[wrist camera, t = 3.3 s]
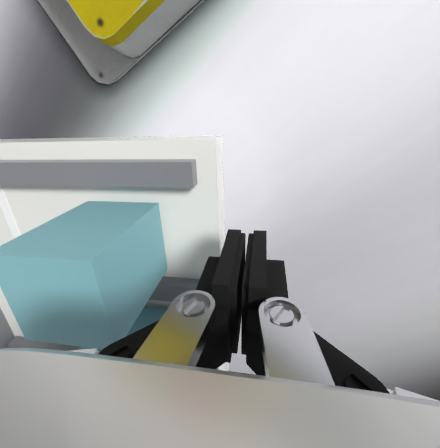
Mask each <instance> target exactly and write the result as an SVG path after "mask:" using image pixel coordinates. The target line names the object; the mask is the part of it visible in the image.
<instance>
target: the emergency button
mask: <svg viewBox="0 0 440 448" xmlns="http://www.w3.org/2000/svg"><path fill="white" fill-rule="evenodd" d="M38 1H39V3H40V4H41V6H42V7H43V9H44V10H45V11H46V13H47V14H48V16H49V17H50V19H51V20H52V21H53V23H54V24H55V26H56V27H57V29H58V30H59V32H60V33H61V34H62V36H63V37H64V39H65V40H66V42H67V43H68V44H69V46H70V47H71V49H72V50H73V52H74V53H75V54H76V56H77V57H78V59H79V60H80V62H81V63H82V64H83V66H84V67H85V69H86V70H87V72H88V73H89V74H90V76H91V77H92V78H94V79H95V80H96V81H97V82H98V83H103V84H112V83H114V82H116V81H118V80H119V79H120V78H121V77H122V76H124V75H125V74H126V73H127V72H128V71H129V70H130V69H131V68H132V67H133V66H134V65H135V64H137V63H138V62H139V61H140V60H141V59H142V58H143V57H144V56H145V55H146V54H147V53H148V52H150V51H151V50H152V49H153V48H154V47H155V46H156V45H157V44H158V43H159V42H160V41H161V40H163V39H164V38H165V37H166V36H167V35H168V34H169V33H170V32H171V31H172V30H173V29H174V28H176V27H177V26H178V25H179V24H180V23H181V22H182V21H183V20H184V19H185V18H186V17H187V16H189V15H190V14H191V13H192V12H193V11H194V10H195V9H196V8H197V7H198V6H199V5H200V4H202V3H203V2H204V1H205V0H38Z"/></svg>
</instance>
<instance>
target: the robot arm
mask: <svg viewBox="0 0 440 448" xmlns="http://www.w3.org/2000/svg"><path fill="white" fill-rule="evenodd" d="M241 316H242V354H245V355H246V363H247V365H248V366H249V367H250V368H251V369H252V370H253V371H254V372H255V373H256V375H253V374H246V373H238V372H231V371H223V370H219V368H218V367H220V366H221V365H222V364H224V363H225V362H229V363H230V362H231V354H232V353H237V350H238V341H239V333H240V324H241ZM0 448H440V401H439V400H435V399H432V398H429V397H426V396H423V395H420V394H417V393H413V392H410V391H407V390H404V389H401V388H398V387H395V388H394V391H393V390H390V389H387V388H386V387H385V386H384V385H383V384H382V383H381V382H380V381H379V380H378V379H377V378H376V377H375V376H373V375H372V374H370V373H369V372H368V371H366V370H365V369H364V368H362V367H361V366H360V365H358V364H357V363H356V362H354V361H353V360H352V359H350V358H349V357H347V356H346V355H345V354H343V353H342V352H341V351H339V350H338V349H337V348H335V347H334V346H333V345H331V344H330V343H329V342H327V341H326V340H324V339H323V338H322V337H320V336H319V335H318V334H316V333H315V332H314V331H313V329H312V327H311V325H310V322H309V320H308V317H307V315H306V312H305V311H304V309H303V307H302V306H301V305H299V304H298V303H297V302H295V301H293V300H291V299H288V291H287V283H286V274H285V266H284V261H279V260H266V231H254V234H249V237H248V245H247V252H246V260H245V233H241V230H230V229H228V232H227V236H226V239H225V242H224V245H223V249H222V252H221V255H220V257H213V256H209V257H208V259H207V262H206V264H205V267H204V269H203V272H202V275H201V277H200V280H199V282H198V285H197V288H196V290H192V291H187V292H184V293H182V294H180V295H179V296H177V297H176V298H175V299H174V300H173V302H172V303H171V305H170V306H169V307H168V309H167V310H166V312H165V313H164V315H163V316H162V317H161V319H160V320H158V321H156V322H154V323H152V324H150V325H148V326H146V327H144V328H142V329H140V330H138V331H136V332H134V333H132V334H130V335H128V336H126V337H124V338H122V339H120V340H118V341H116V342H114V343H112V344H110V345H108V346H107V347H105V348H104V349H103V350H101V351H100V352H98V350H97V348H93V349H82V350H70V351H63V350H53V349H39V348H4V349H0Z"/></svg>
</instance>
